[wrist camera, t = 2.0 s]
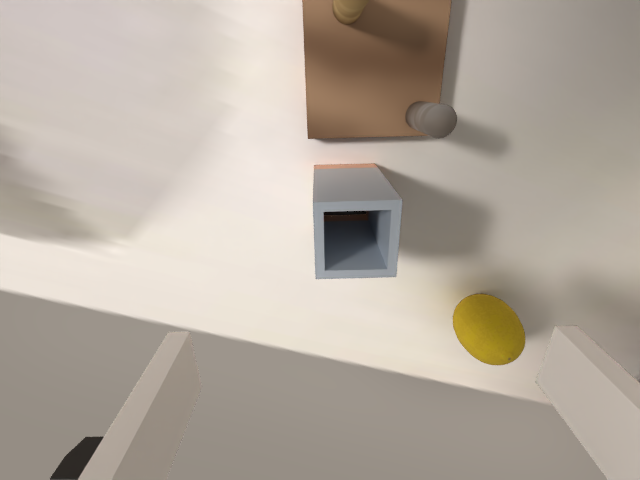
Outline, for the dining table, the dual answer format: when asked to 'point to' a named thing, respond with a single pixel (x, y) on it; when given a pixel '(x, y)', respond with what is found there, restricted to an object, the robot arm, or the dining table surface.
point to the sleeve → (355, 222)
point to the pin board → (376, 68)
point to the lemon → (489, 329)
